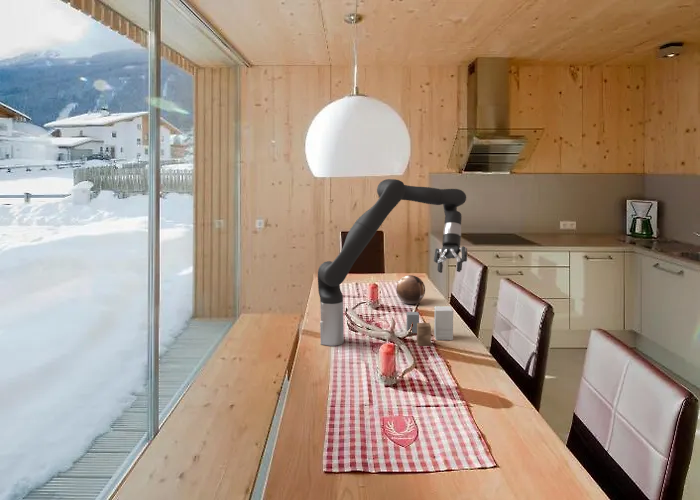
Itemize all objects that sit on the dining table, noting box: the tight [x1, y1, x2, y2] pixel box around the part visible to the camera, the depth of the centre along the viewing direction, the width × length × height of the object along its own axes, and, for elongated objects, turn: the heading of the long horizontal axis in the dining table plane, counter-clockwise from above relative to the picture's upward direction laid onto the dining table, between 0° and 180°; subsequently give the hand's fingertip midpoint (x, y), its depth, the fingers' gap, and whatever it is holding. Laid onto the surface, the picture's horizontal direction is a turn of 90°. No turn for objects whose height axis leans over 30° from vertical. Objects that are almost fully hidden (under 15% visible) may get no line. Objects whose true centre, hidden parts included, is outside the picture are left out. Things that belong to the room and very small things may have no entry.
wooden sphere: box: [395, 274, 426, 305], centre depth 277 cm, size 15×15×15 cm
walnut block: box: [416, 322, 432, 347], centre depth 213 cm, size 5×5×8 cm
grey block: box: [406, 311, 420, 334], centre depth 230 cm, size 5×5×8 cm
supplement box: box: [433, 305, 454, 341], centre depth 220 cm, size 7×7×13 cm
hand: (449, 271), depth 222 cm, fingers open, 8 cm apart
